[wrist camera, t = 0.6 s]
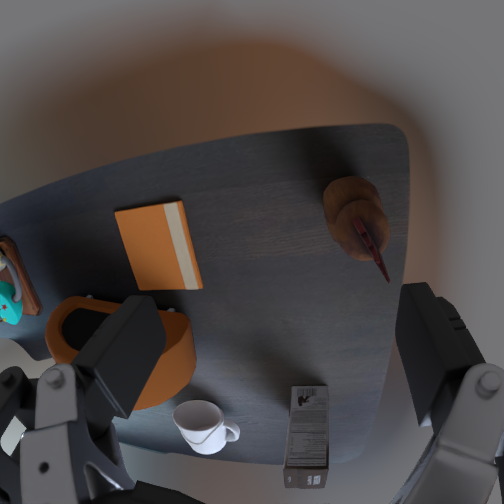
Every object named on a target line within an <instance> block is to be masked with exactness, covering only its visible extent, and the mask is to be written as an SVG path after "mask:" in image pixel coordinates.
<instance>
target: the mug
mask: <svg viewBox="0 0 504 504" xmlns="http://www.w3.org/2000/svg"><path fill="white" fill-rule="evenodd" d="M172 416H173V420H174V422H175V425H177V426H178V428H179V429H180V432H181V434H182V436H183V437H184V438H185V440H186V441H187V442H188V444H189V445H190V446H191V447H192V449H193V450H195V451H196V452H198V453H201V454H213V453H216V452H218V451H219V450H221V449H222V448H223V447H224V445H225V444H226V441H236V440H237V439H238V438H239V434H240V429H239V427H238V425H237V424H236V423H235V422H233V421H231V420H229V419H226V418H224V413H223V411H222V410H221V409H220V408H219V407H218V406H216V405H215V404H213V403H211V402H208V401H204V400H191V401H187V402H184V403H182V404H180V405H178V406H177V407H176V408H175V409H174V411H173V415H172ZM226 428H228V429H230V430H231V431H233V432H234V433H226Z"/></svg>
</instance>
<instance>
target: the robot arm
mask: <svg viewBox="0 0 504 504" xmlns="http://www.w3.org/2000/svg"><path fill="white" fill-rule="evenodd" d="M395 336H396V343H397V346H398V350H399V353H400V356H401V359H402V363H403V366H404V370H405V373H406V377H407V380H408V383H409V388H410V391H411V395H412V399H413V403H414V407H415V411H416V415H417V420H418V424H419V427H424V426H429V425H432V427H433V432H434V434H433V436H432V437H431V439H430V441H429V443H428V445H427V446H426V448H425V450H424V452H423V454H422V455H421V457H420V459H419V461H418V462H417V464H416V466H415V467H414V469H413V471H412V472H411V474H410V476H409V477H408V479H407V480H406V482H405V483H404V485H403V486H402V488H401V489H400V491H399V492H398V493H397V495H396V496H395V497H394V498H393V500H392V501H391V502H390V504H486V503H487V501H488V499H489V496H490V494H491V491H492V489H493V487H494V484H495V481H496V479H497V476H498V477H499V483H500V489H501V496H502V504H504V370H503V369H502V368H500V367H498V366H496V365H494V364H488V363H486V362H485V360H484V358H483V356H482V354H481V353H480V350H479V348H478V347H477V345H476V343H475V341H474V339H473V337H472V336H471V334H470V332H469V331H468V329H466V326H465V324H464V322H463V320H462V319H460V315H459V314H458V312H457V310H456V309H455V307H454V306H453V305H452V304H451V303H449V302H448V301H447V300H446V299H444V298H443V297H435V295H434V293H433V292H432V290H431V288H430V287H429V285H428V284H427V283H426V282H422V283H411V284H403V285H402V288H401V292H400V300H399V307H398V313H397V320H396V327H395ZM166 341H167V336H166V331H165V328H164V325H163V323H162V320H161V317H160V315H159V312H158V309H157V306H156V304H155V301H154V299H153V298H152V297H151V296H149V295H131V296H129V297H128V298H127V299H126V300H125V301H124V302H123V304H122V305H121V306H120V307H119V308H118V310H116V311H115V312H114V313H112V314H111V315H109V316H108V317H107V318H106V319H105V320H104V321H103V323H102V324H101V325H100V326H99V329H97V330H96V331H95V333H94V334H93V337H91V338H90V339H89V340H88V341H87V343H86V344H85V345H84V346H83V348H82V349H81V350H80V352H79V353H78V354H77V355H76V357H75V358H74V359H73V361H72V362H71V363H70V365H69V364H66V363H61V364H56V365H54V366H52V367H50V368H48V369H47V370H46V371H45V372H44V373H43V374H42V375H41V376H40V378H36V379H28V378H27V376H26V375H25V373H24V372H23V370H22V369H21V368H20V367H17V366H13V367H10V368H7V369H6V370H4V371H3V372H1V373H0V440H1V437H2V435H3V433H4V432H5V430H6V428H7V427H8V425H9V423H10V422H11V420H12V419H13V417H14V416H16V417H17V418H18V420H19V421H20V422H21V423H22V424H23V425H24V426H25V427H26V428H27V429H26V430H25V432H23V433H22V435H21V439H20V441H19V443H18V444H17V446H16V448H15V450H14V451H13V453H12V455H11V456H9V455H7V454H6V453H5V452H4V451H3V449H2V447H1V444H0V504H205V503H203V502H201V501H198V500H196V499H194V498H192V497H189V496H187V495H185V494H183V493H181V492H179V491H176V490H171V489H168V488H163V487H160V486H156V485H152V484H149V483H145V482H142V481H138V480H137V482H136V485H135V483H134V482H133V480H132V479H131V478H130V476H129V474H128V473H127V470H126V468H125V464H124V460H123V457H122V454H121V450H120V446H119V442H118V438H117V434H116V430H115V426H114V424H113V423H112V422H111V421H112V419H113V417H114V416H117V417H120V418H124V419H128V418H129V416H130V414H131V412H132V410H133V408H134V406H135V404H136V402H137V401H138V399H139V397H140V395H141V393H142V391H143V389H144V387H145V385H146V383H147V381H148V379H149V377H150V375H151V373H152V372H153V370H154V368H155V366H156V364H157V362H158V360H159V358H160V356H161V355H162V353H163V351H164V349H165V346H166ZM494 458H495V462H496V464H494Z"/></svg>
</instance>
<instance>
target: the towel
mask: <svg viewBox="0 0 504 504" xmlns="http://www.w3.org/2000/svg"><path fill="white" fill-rule="evenodd" d="M115 216H116V220H117V223H118V227H119V230H120V233H121V236H122V240H123V243H124V246H125V249H126V252H127V255H128V258H129V261H130V264H131V267H132V270H133V273H134V276H135V279H136V281H137V284H138V287H139V290H170V289H186V290H194V289H199V288H203V283H202V280H201V276H200V272H199V268H198V264H197V260H196V256H195V253H194V249H193V245H192V240H191V236H190V232H189V228H188V224H187V220H186V215H185V211H184V207H183V202H182V200H181V201H174V202H168V203H162V204H156V205H150V206H144V207H138V208H132V209H127V210H121V211H116V212H115Z"/></svg>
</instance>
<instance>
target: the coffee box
mask: <svg viewBox="0 0 504 504" xmlns="http://www.w3.org/2000/svg"><path fill="white" fill-rule="evenodd" d="M328 466H329V404H328V386H292V388H291V400H290V410H289V420H288V430H287V440H286V449H285V458H284V467H283V472H284V482H285V488H301V489H317V488H318V489H319V488H324V487H325V484H326V479H327V474H328V470H329V468H328Z"/></svg>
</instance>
